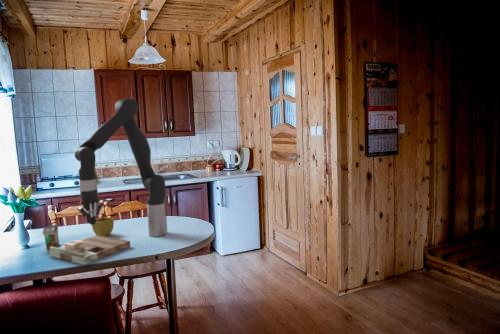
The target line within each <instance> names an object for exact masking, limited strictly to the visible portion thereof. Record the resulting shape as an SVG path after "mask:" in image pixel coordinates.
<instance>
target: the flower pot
mask: <svg viewBox="0 0 500 334" xmlns="http://www.w3.org/2000/svg"><path fill="white" fill-rule="evenodd" d="M114 222H115V218H111V217H104V216H103V217H99V218H96V223H95V224H93V225H91V227H92V231H93V233H94V234H95V236H96V235H100V236H105V237H108V236H109V235H111V234H112V232H113V230H114V226H115V225H114Z"/></svg>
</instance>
